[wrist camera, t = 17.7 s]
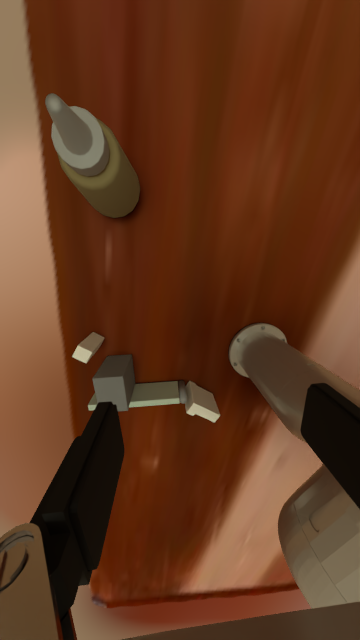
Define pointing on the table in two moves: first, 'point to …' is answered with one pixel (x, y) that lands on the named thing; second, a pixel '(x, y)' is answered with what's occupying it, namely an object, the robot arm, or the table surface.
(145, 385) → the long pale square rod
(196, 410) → the pale rectangular blocks
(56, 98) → the squeeze bottle
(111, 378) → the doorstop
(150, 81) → the table surface
